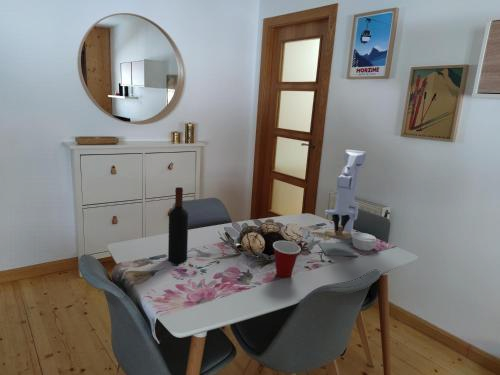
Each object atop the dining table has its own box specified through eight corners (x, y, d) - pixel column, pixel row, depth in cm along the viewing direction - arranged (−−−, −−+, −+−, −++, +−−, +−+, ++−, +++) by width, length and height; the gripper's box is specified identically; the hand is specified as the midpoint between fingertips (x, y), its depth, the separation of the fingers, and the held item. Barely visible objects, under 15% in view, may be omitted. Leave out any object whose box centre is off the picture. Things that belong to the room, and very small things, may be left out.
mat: (317, 243, 181) (317, 242, 181) (345, 244, 182) (346, 243, 182) (326, 255, 167) (326, 254, 167) (356, 256, 169) (356, 255, 169)
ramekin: (364, 253, 173) (366, 242, 172) (345, 245, 182) (347, 234, 180) (379, 249, 179) (381, 238, 178) (360, 241, 188) (362, 231, 187)
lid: (321, 230, 179) (322, 220, 178) (346, 231, 180) (347, 221, 179) (329, 239, 167) (330, 228, 166) (355, 239, 168) (356, 229, 167)
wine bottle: (164, 260, 152) (165, 188, 145) (176, 254, 159) (177, 184, 152) (179, 265, 149) (180, 191, 142) (190, 258, 155) (192, 187, 148)
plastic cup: (288, 284, 139) (291, 253, 136) (264, 274, 146) (267, 245, 143) (303, 274, 148) (306, 245, 145) (280, 265, 154) (282, 238, 151)
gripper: (329, 203, 165) (326, 232, 168) (361, 204, 166) (357, 233, 170) (324, 199, 172) (321, 227, 175) (355, 200, 173) (351, 228, 176)
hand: (338, 230), depth 173 cm, fingers closed on lid
